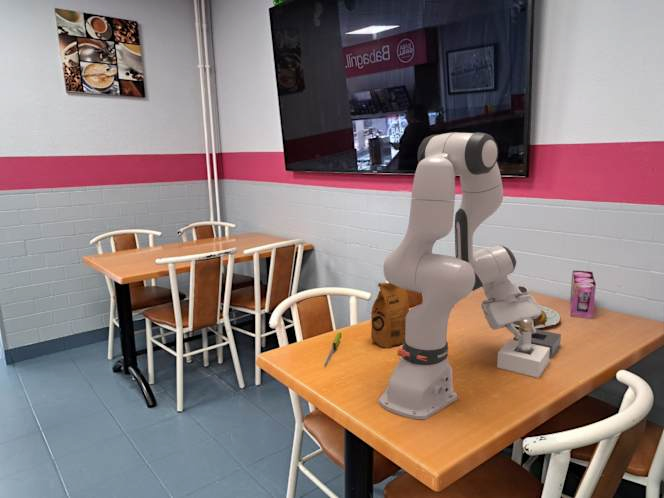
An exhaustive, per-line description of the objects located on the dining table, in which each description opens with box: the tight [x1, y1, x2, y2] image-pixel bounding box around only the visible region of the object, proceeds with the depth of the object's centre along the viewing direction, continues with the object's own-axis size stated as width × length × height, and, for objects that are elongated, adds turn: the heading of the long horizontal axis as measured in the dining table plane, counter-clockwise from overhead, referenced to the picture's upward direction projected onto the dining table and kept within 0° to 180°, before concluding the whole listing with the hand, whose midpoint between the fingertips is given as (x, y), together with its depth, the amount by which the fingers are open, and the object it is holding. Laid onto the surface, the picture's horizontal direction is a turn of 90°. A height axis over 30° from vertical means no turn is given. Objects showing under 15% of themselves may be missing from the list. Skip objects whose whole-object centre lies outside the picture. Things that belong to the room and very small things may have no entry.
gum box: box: [569, 269, 597, 319], centre depth 191 cm, size 24×8×14 cm, turn 154°
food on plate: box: [514, 304, 562, 332], centre depth 182 cm, size 25×25×7 cm
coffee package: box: [370, 282, 410, 349], centre depth 162 cm, size 10×12×22 cm
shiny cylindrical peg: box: [518, 317, 533, 355], centre depth 142 cm, size 4×4×15 cm
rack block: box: [496, 339, 550, 379], centre depth 143 cm, size 12×12×5 cm
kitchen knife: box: [324, 332, 342, 367], centre depth 154 cm, size 22×1×3 cm, turn 167°
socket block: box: [512, 328, 562, 359], centre depth 156 cm, size 12×12×4 cm
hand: (526, 335), depth 141 cm, fingers open, 4 cm apart
